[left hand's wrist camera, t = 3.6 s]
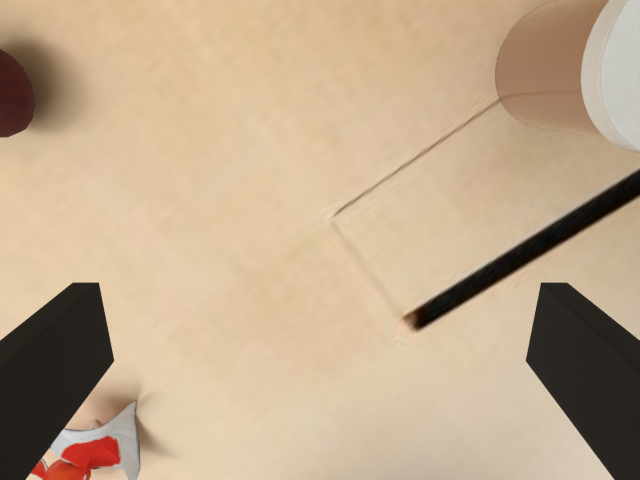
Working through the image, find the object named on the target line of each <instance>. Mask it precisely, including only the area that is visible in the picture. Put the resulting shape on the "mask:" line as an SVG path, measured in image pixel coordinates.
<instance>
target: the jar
mask: <svg viewBox="0 0 640 480" xmlns="http://www.w3.org/2000/svg"><path fill="white" fill-rule="evenodd" d="M608 1H609V0H558V1H555V2H552V3H549V4H546V5H544V6H541V7H539V8H537V9H535V10H534V11H532V12H531V13H529V14H528V15H526V16H525V17H524V18H523V19H521V20H520V21H519V22H518V23H517V24H516V25H515V27H514V28H513V29H512V30H511V32H510V33H509V34H508V36H507V38H506V39H505V41H504V43H503V45H502V47H501V50H500V53H499V55H498V59H497V64H496V72H495V81H496V88H497V92H498V95H499V98H500V100H501V102H502V104H503V106H504V107H505V109H506V110H507V111H508V112H509V113H510V114H511V115H512V116H513V117H514V118H515V119H517V120H519V121H520V122H522V123H525V124H527V125H531V126H535V127H540V128H545V129H550V130H555V131H561V132H566V133H571V134H576V135H582V136H587V137H592V138H597V139H603V140H608V139H607V138H606V137H605V136H604V135H603V134H602V133H601V132H600V131H599V130H598V129H597V127H596V126H595V125H594V123H593V122H592V120H591V118H590V117H589V115H588V112H587V110H586V107H585V104H584V100H583V96H582V88H581V67H582V61H583V55H584V51H585V47H586V44H587V40H588V38H589V35H590V33H591V31H592V28H593V26H594V24H595V22H596V20H597V18H598V17H599V15H600V13H601V12H602V10H603V9H604V7H605V6H606V4H607V3H608ZM608 141H610V140H608Z"/></svg>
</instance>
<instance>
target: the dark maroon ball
mask: <svg viewBox="0 0 640 480" xmlns="http://www.w3.org/2000/svg"><path fill="white" fill-rule="evenodd" d="M34 106H35V104H34V98H33V93H32V87H31V84H30V82H29V80H28V78H27V76H26V74H25V71H24V69H23V67H21V66H20V65H19V64H18V63H17V62H16V61H15V60H14V59H13V58H12V57H11V56H10V55H8V54H7V53H5V52H4V51H2V50H1V49H0V137H9V136H12V135H14V134H16V133H19V132H21V131H23V130H25V129H26V128H27V126H28V125H29V123H30V122H31V120H32V117H33V111H34Z"/></svg>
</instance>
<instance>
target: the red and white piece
mask: <svg viewBox="0 0 640 480" xmlns="http://www.w3.org/2000/svg"><path fill="white" fill-rule="evenodd" d="M135 410H136V400H135V401H134V402H132V403H131V404H129V405H128V406H127V407H126V408H125V409H124V410H123V411H122V412H121V413H119V414H118V415H117V416H116V417H115V418H113V419H112V420H110V421H109V422H108V423H106V424H105V425H103V426H102V427H100V428H96V429H92V425H93V422H92V424H91V427H90V429H89V430H72V429H65V428H64V429H63V430H62V431H61V433H60V434H59V435H58V437H57V438H56V439H55V441H54V442H53V444H52V445H51V446H50V449H51V450H52V451H53V453H54V454H55V455H57V456H58V457H59V458H61V459H60V460H57V461H56V462H54V463H53V464H52V465H51V466H50V467H49V468H48V467H47V465H46V463H45V461H44V460H43V459H42V458H41V460H40V461H39V462H38V464H37V465H36V466H35V468H34V469H33V470H32V472H31V474H34V475H37V476H38V477H40V478H42V479H43V480H89V479H90V477H91V469H98V468H105V467H114V468H122V469H123V470H124V471H125V473H126V475H127V477H128V479H129V480H137V478H138V474H139V471H140V443H139V437H138V432H137V426H136V420H135Z"/></svg>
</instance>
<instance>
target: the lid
mask: <svg viewBox="0 0 640 480" xmlns="http://www.w3.org/2000/svg"><path fill="white" fill-rule="evenodd" d="M581 88H582V96H583V100H584V104H585V107H586V110H587V112H588V115H589V117H590V118H591V120H592V122H593V123H594V125H595V126H596V127H597V129H598V130H599V131H600V132H601V133H602V134H603V135H604V136H605V137H606V138H607V139H608V140H610V141H611V142H613V143H614V144H616V145H618V146H620V147H622V148H624V149H627V150H630V151H634V152H638V153H640V0H609V1H608V3H607V4H606V6H605V7H604V9H603V10H602V12H601V13H600V15H599V17H598V18H597V20H596V22H595V24H594V26H593V28H592V31H591V33H590V35H589V38H588V40H587V44H586V47H585V51H584V55H583V61H582V67H581Z"/></svg>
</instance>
